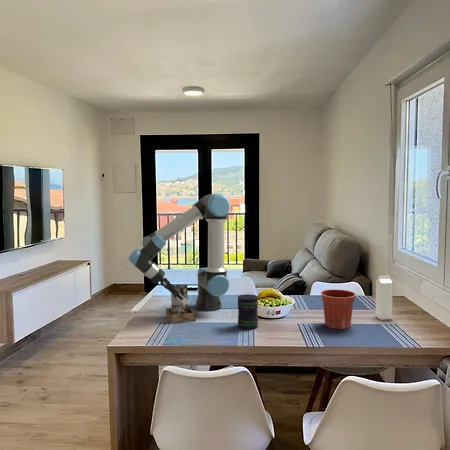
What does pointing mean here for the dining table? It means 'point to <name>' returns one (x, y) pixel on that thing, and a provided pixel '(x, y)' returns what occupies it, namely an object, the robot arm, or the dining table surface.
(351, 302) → the flower pot
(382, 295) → the milk
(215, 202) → the robot arm
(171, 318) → the wooden tray
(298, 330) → the dining table surface
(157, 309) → the dining table surface
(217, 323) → the dining table surface
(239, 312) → the storage jar
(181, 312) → the coffee box
